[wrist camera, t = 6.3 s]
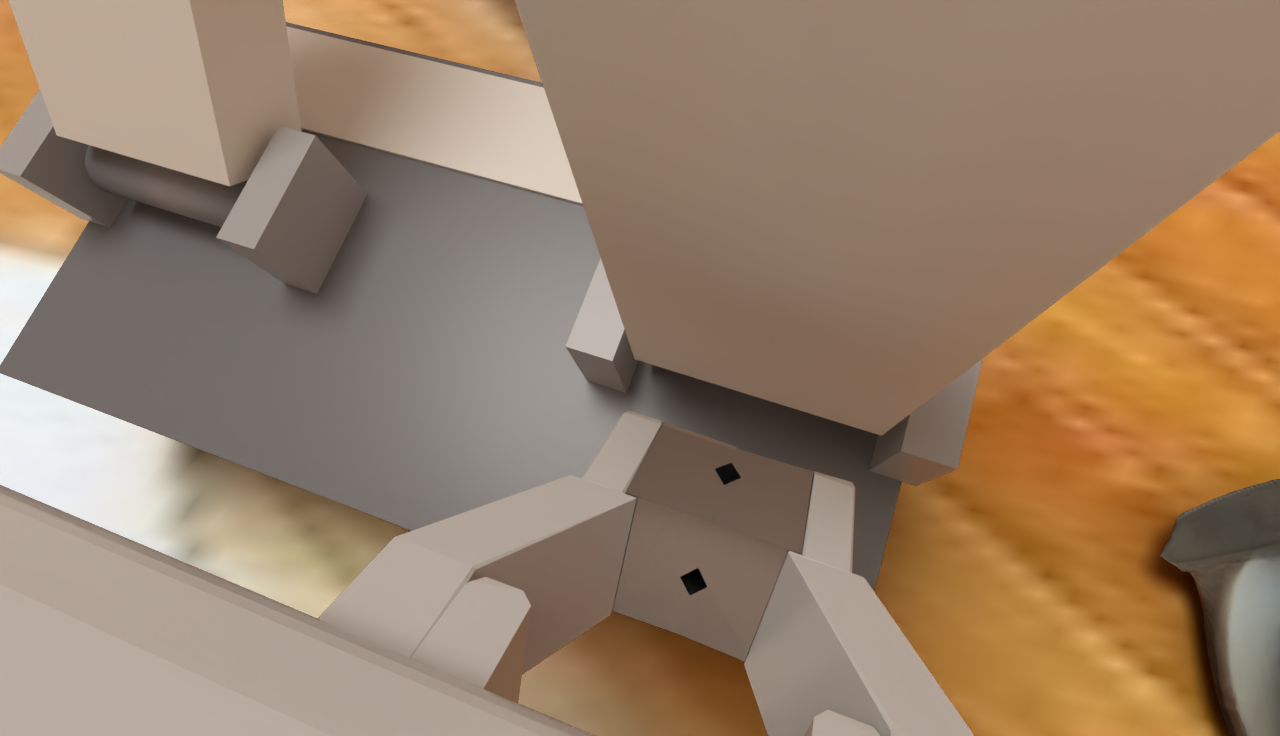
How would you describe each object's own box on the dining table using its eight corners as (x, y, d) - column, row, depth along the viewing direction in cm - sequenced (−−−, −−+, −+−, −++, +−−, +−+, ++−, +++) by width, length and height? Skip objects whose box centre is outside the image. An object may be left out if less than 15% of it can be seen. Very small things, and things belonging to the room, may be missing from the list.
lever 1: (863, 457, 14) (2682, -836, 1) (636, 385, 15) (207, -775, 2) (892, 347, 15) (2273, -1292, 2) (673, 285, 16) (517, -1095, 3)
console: (815, 663, 19) (897, 732, 11) (166, 418, 23) (-128, 336, 15) (913, 288, 22) (1036, 122, 14) (322, 129, 26) (147, -71, 18)
